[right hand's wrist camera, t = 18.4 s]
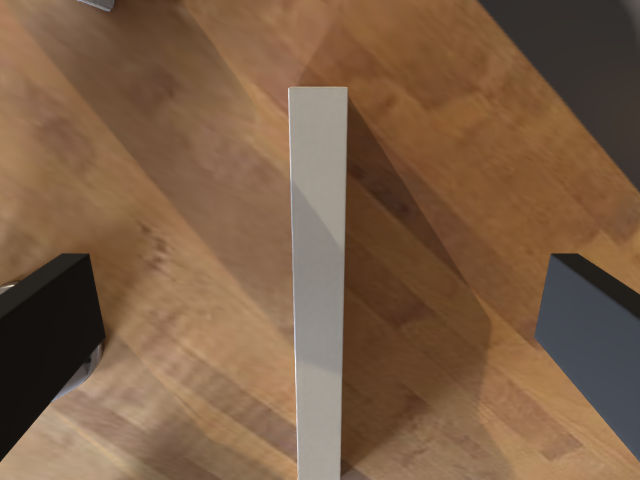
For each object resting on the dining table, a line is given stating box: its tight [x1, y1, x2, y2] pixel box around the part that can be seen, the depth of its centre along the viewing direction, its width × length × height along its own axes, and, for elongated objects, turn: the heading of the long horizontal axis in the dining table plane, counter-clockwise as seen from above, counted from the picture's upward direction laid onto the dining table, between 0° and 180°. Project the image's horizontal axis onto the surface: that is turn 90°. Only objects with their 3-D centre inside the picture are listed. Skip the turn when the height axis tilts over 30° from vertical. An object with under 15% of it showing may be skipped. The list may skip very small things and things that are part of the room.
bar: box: [288, 87, 348, 480], centre depth 49 cm, size 54×5×8 cm, turn 0°
